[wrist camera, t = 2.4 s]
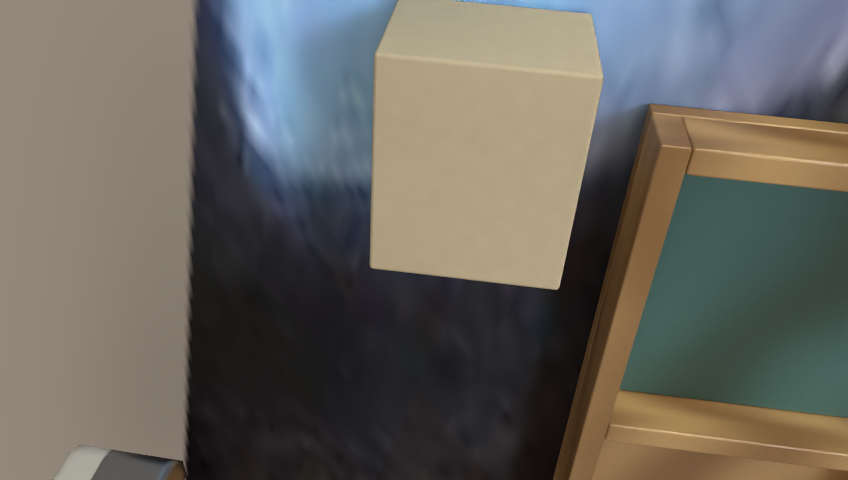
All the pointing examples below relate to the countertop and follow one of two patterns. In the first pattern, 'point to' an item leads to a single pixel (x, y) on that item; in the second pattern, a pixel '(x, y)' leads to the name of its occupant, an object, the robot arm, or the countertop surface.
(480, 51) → the beige rectangular block
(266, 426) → the countertop surface
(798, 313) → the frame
